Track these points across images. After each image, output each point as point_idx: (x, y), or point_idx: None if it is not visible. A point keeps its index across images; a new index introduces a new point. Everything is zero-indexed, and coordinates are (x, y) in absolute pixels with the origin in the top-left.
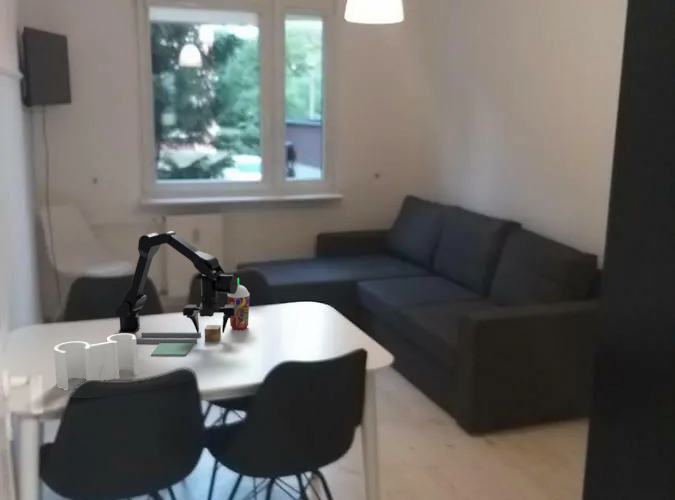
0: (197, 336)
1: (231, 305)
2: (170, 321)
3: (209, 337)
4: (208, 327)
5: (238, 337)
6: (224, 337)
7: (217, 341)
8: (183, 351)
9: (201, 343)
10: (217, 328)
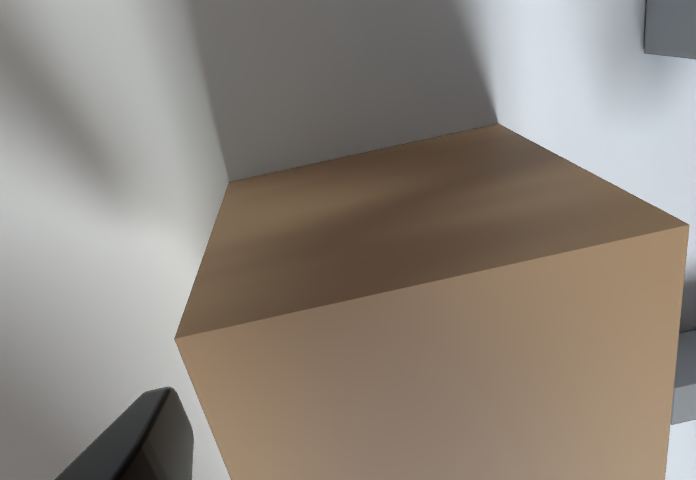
0: (685, 339)
1: None
2: None
3: (429, 167)
4: (578, 407)
5: (14, 476)
6: None
7: (250, 180)
8: None
9: (545, 13)
10: (241, 395)
